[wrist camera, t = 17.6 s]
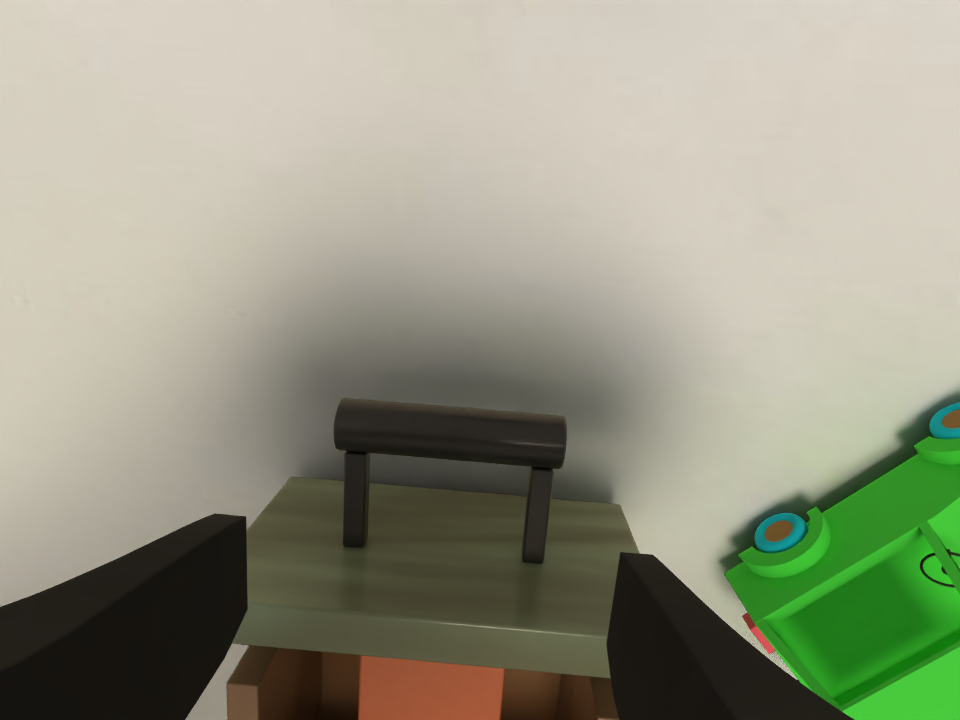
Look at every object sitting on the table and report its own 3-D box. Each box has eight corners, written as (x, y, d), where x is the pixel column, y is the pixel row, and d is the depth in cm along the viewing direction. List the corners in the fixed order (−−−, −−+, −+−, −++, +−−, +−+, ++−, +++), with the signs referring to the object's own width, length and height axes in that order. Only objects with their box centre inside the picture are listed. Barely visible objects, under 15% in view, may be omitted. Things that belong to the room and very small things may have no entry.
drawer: (290, 357, 20) (181, 429, 13) (637, 385, 19) (706, 473, 13) (291, 746, 23) (206, 956, 17) (582, 774, 23) (613, 998, 16)
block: (383, 666, 21) (355, 769, 17) (387, 566, 20) (358, 650, 16) (496, 677, 21) (494, 782, 17) (505, 576, 20) (506, 663, 16)
